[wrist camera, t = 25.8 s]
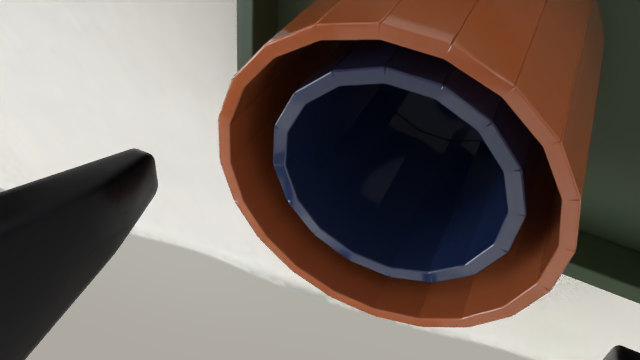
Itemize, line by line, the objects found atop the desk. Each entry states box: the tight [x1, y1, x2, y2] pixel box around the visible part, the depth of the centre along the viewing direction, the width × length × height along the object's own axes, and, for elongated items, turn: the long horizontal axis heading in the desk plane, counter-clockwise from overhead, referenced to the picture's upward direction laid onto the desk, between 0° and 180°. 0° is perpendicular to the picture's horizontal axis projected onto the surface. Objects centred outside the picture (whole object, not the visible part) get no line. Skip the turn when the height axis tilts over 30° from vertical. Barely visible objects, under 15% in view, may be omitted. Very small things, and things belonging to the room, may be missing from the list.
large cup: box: [218, 0, 605, 327], centre depth 14 cm, size 7×7×7 cm
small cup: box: [273, 40, 543, 283], centre depth 14 cm, size 5×5×6 cm
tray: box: [237, 0, 640, 303], centre depth 15 cm, size 15×12×2 cm
